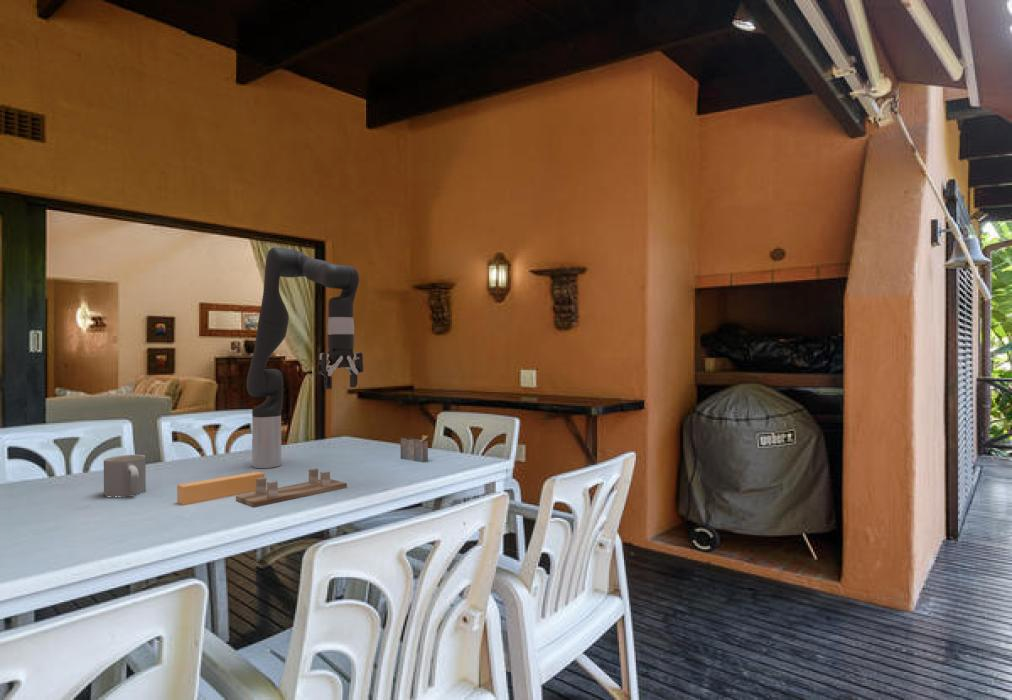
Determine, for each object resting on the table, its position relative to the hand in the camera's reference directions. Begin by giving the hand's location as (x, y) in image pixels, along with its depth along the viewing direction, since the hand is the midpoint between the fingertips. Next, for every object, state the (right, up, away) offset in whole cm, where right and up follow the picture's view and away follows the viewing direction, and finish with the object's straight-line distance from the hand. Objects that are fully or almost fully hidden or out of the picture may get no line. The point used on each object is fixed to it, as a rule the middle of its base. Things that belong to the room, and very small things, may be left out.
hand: (341, 388), depth 177 cm
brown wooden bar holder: (-11, -29, -8) cm, 32 cm away
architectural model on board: (+15, -29, +40) cm, 52 cm away
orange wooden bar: (-30, -29, -10) cm, 43 cm away
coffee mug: (-58, -29, -9) cm, 65 cm away
